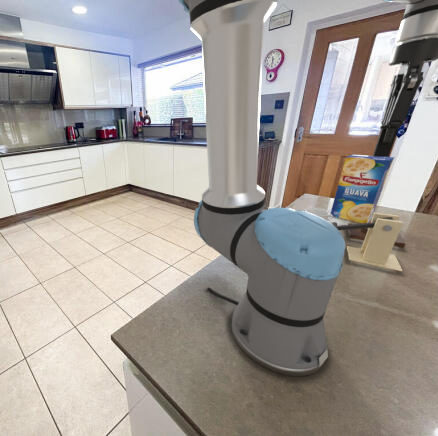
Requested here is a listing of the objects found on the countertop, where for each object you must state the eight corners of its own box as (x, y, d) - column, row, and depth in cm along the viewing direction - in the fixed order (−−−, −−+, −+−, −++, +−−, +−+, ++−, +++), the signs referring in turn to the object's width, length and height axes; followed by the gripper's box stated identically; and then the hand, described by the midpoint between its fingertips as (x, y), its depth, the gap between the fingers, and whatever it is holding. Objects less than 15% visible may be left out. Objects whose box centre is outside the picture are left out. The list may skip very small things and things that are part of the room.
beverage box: (335, 210, 93) (352, 154, 84) (372, 218, 85) (394, 157, 76) (329, 215, 90) (345, 157, 81) (366, 224, 81) (389, 160, 73)
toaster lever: (332, 237, 63) (330, 228, 62) (331, 228, 67) (330, 220, 67) (397, 232, 55) (395, 223, 55) (391, 223, 60) (390, 214, 59)
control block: (348, 240, 72) (352, 229, 71) (346, 229, 79) (349, 218, 77) (402, 250, 66) (408, 238, 64) (395, 237, 73) (400, 225, 71)
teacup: (301, 228, 81) (304, 215, 80) (295, 216, 90) (297, 205, 88) (335, 230, 78) (339, 218, 76) (325, 219, 87) (328, 207, 85)
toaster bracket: (348, 263, 62) (363, 219, 57) (345, 249, 68) (359, 208, 63) (400, 274, 57) (422, 227, 52) (393, 258, 63) (412, 215, 58)
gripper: (460, 29, 42) (409, 161, 52) (434, 43, 52) (395, 152, 61) (402, 38, 46) (364, 159, 56) (388, 50, 56) (357, 151, 65)
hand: (380, 156), depth 58 cm, fingers closed
